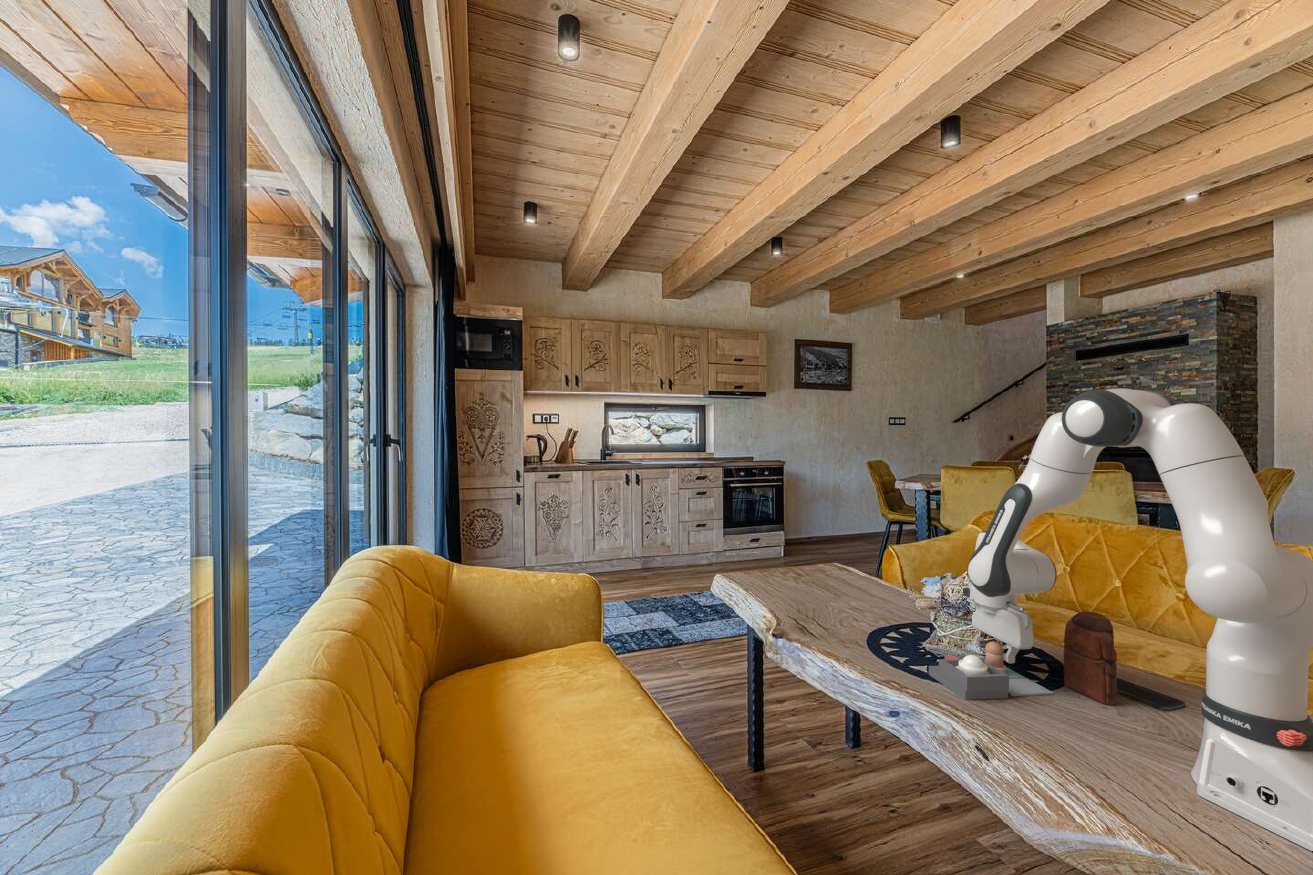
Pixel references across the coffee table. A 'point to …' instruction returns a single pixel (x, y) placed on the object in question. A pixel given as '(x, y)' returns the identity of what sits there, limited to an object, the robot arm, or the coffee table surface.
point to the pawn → (995, 655)
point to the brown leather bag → (1091, 657)
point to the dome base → (970, 680)
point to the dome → (972, 666)
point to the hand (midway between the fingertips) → (994, 654)
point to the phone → (1148, 696)
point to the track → (1024, 685)
